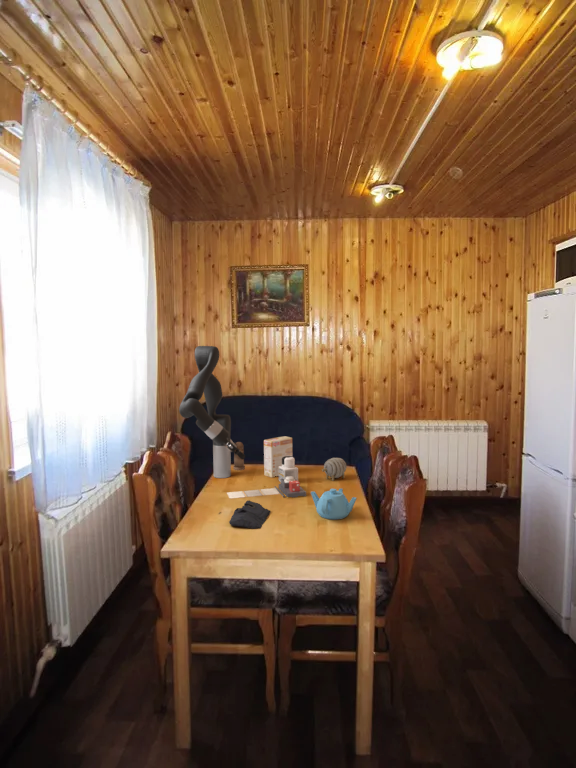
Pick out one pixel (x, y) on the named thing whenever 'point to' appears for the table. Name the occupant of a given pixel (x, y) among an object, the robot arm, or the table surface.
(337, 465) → the toy sheep
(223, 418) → the robot arm
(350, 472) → the table surface
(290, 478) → the dome
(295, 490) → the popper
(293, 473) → the container
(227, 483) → the table surface
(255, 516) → the black folded cloth
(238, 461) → the pawn
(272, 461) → the coffeecake box
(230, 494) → the board
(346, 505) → the teapot
